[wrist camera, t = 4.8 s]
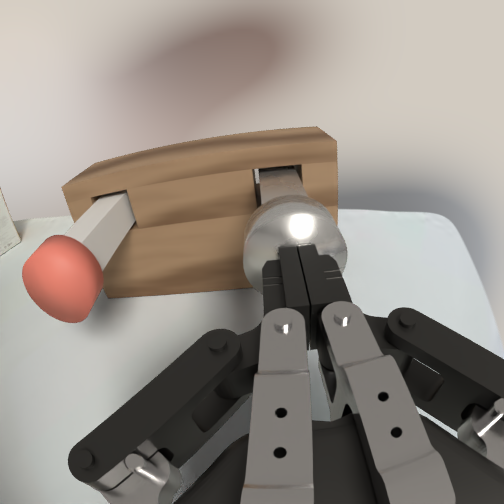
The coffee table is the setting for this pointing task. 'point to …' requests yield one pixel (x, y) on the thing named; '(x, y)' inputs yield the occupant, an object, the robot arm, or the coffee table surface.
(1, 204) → the small box
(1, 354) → the coffee table surface
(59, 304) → the red plunger
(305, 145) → the walnut housing
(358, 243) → the coffee table surface
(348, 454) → the robot arm
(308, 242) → the grey plunger
